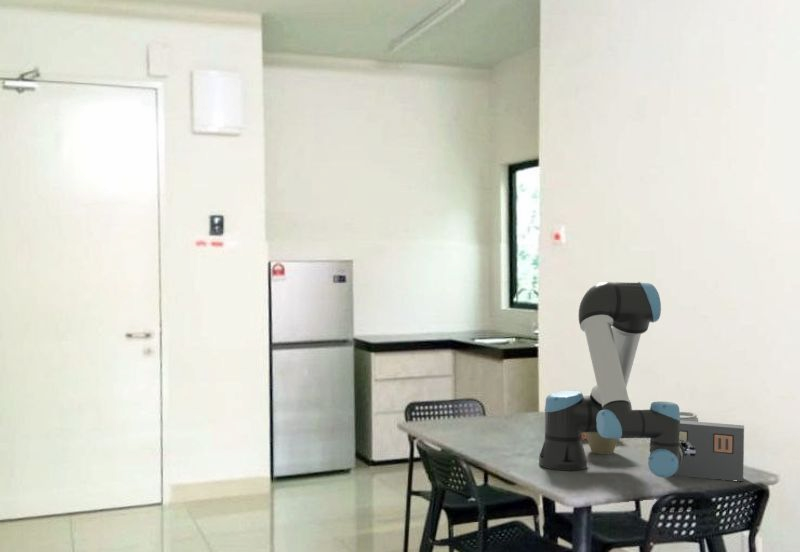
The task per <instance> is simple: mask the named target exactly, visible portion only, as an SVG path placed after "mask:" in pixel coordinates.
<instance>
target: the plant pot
mask: <svg viewBox="0 0 800 552" xmlns="http://www.w3.org/2000/svg"><path fill="white" fill-rule="evenodd" d="M585 433H586V437H587V443H588V445H589V449H590V451H591V452H592V453H593V454H599V455H611V454H614V452H615V449H616V447H617V443H618V441H619V440H618V439H612V438H603V437H601V436H600V435H599V433H598V432H585Z"/></svg>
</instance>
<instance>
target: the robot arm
mask: <svg viewBox="0 0 800 552" xmlns="http://www.w3.org/2000/svg"><path fill="white" fill-rule="evenodd" d="M579 304H580V305H579V307H578V324H579V327H580V330H581V331H582V332H584V333H585V338H586V343H587V346H588V352H589V355H590V361H591V364H592V369H593V372H594V376H595V377H594V378H595V381H596V385H594V386H592V389H591V390H590V391H591V392H590V395H584V394H583V393H582V391H579V390H564V391H563V390H562V391H557V392H553V393H549V394H548V395H547V396H546V398H545V406H544V441H543V444H542V448H541V450H540V453H539V456H538V465H539V466H541V467H542V468H545V469H546V468H547V469H551V470H557V471H580V470H585V469H586V468H587V467H588V459H587V456H586V452H585V449H584V446H583V442H582V441H583V440H582V433H583V432H598V433H599V435H600V436H601V437H603V438H612V439H619V440H620V439H650V440H649V456H648V458H647V459H648V460H647V463H648V469H649V470H650V472H651V473H652V474H653V475H654V476H656V477H658V478H662V479H663V478H665V479H666V478H669V477H672V476H674V475H673V474H675V473H676V472H677V470H678V468H679V465H680V463H681V462H682V460H683V458H684V456H686V455H687V454H688V455H691V456H695V447H694V446H692V445H691V444H690V442H689V441H684V440H681V436H679V433H680V412H681V411H680V407H679V405H678V404H677V403H675V402H671V401H653V402H651V404H650V407H649V409H633V408H632V402H631V399H629V395H628V390H627V387H628V383H629V380H630V379H629V378H630V375H631V372H632V367H633V365H634V360H635V358H636V353H637V350H638V346H639V342H640V340H641V335H642V334H644V333H646V332H647V331H648V329H649V326H650V324H651V323H657V321H659V320H660V318H661V314H662V312H661V311H662V303H661V297H660V294H659V292H658V290H657V288H656V287H655V286H654V285H653V284H652V283H649V282H640V281H638V282H617V281H616V282H615V281H614V282H611V281H604V282H599V283H596V284H595V285H593V286H592V287H590V288H589V289H588V290H587V291H586V293H585V294H584V295H583V297H582V298H581V302H580V303H579Z"/></svg>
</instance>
